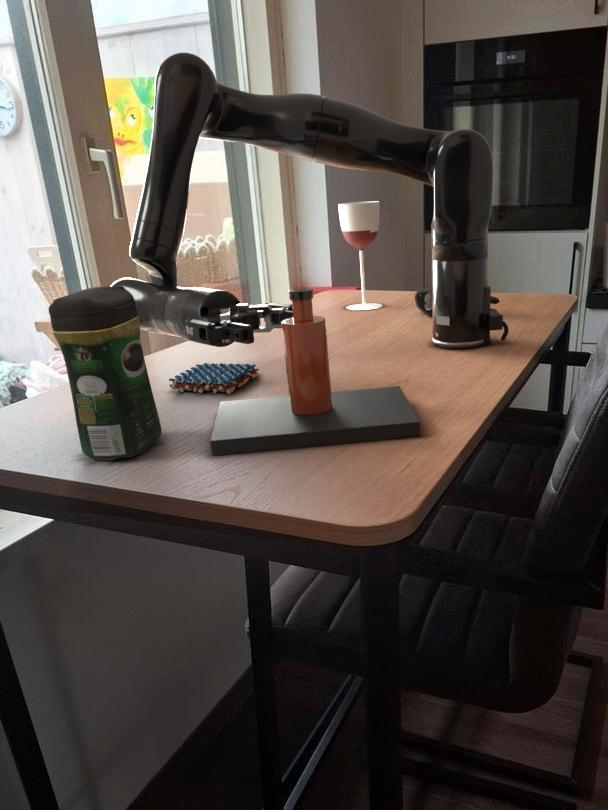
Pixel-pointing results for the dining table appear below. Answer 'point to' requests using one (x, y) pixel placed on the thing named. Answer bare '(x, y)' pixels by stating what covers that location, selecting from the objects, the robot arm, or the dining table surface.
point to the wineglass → (360, 236)
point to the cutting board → (313, 422)
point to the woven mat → (214, 377)
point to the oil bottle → (306, 356)
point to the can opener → (425, 301)
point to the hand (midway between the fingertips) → (278, 328)
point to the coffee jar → (106, 371)
